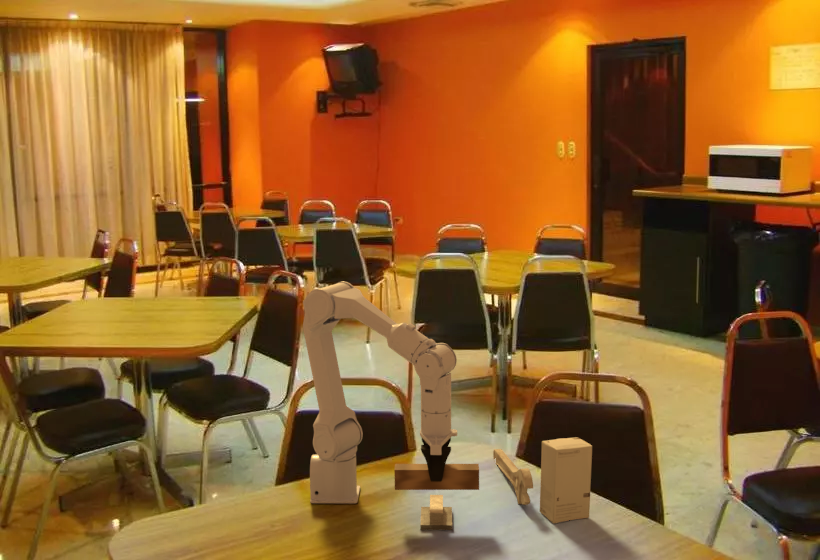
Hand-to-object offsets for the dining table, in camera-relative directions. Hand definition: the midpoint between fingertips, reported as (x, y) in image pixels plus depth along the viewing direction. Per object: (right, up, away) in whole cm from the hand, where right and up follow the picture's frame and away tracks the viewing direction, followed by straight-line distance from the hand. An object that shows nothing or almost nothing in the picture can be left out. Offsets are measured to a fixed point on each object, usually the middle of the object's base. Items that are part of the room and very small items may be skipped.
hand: (436, 477), depth 172 cm
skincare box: (+25, -8, +4) cm, 27 cm away
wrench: (+16, -6, +18) cm, 25 cm away
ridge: (0, -9, +2) cm, 9 cm away
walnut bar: (0, -2, 0) cm, 2 cm away
